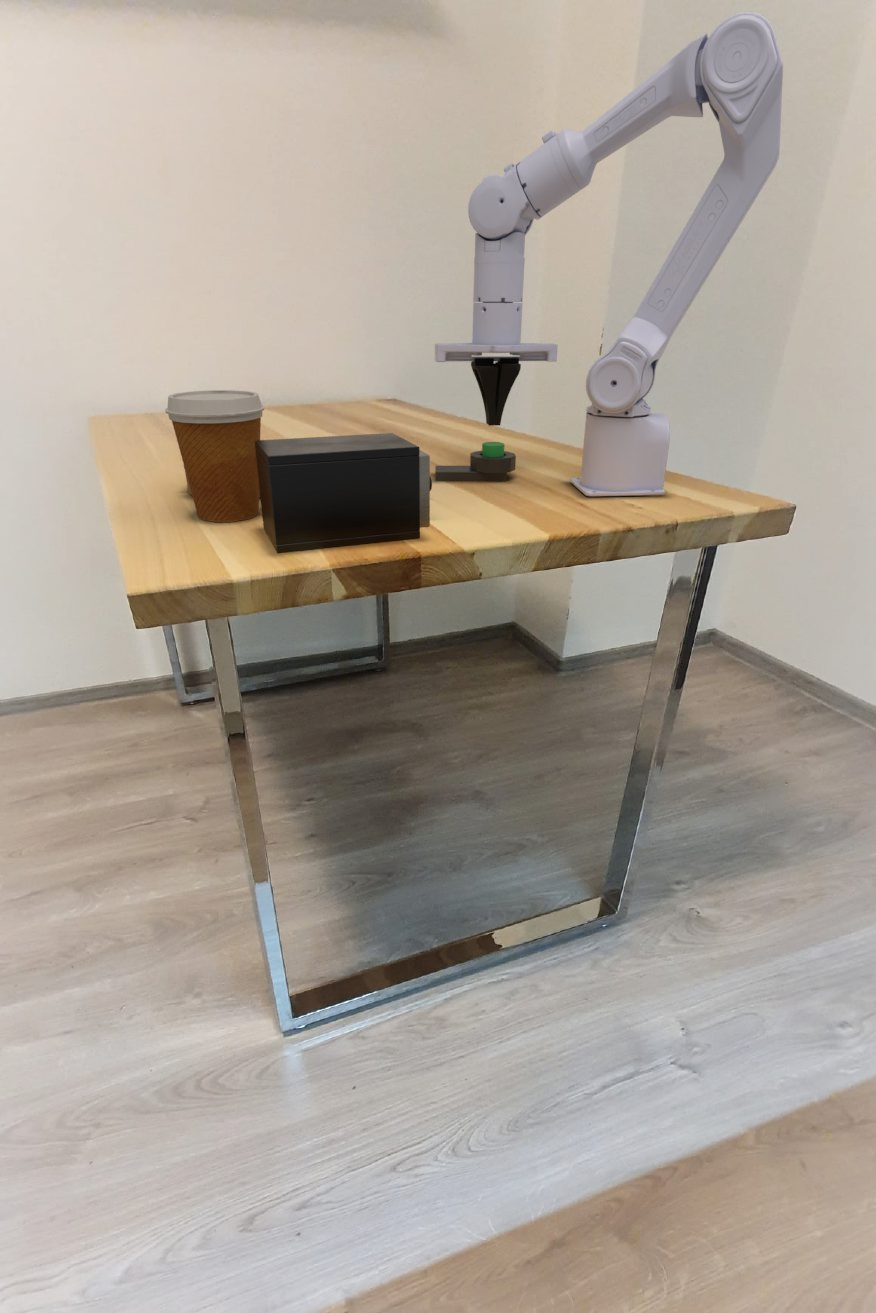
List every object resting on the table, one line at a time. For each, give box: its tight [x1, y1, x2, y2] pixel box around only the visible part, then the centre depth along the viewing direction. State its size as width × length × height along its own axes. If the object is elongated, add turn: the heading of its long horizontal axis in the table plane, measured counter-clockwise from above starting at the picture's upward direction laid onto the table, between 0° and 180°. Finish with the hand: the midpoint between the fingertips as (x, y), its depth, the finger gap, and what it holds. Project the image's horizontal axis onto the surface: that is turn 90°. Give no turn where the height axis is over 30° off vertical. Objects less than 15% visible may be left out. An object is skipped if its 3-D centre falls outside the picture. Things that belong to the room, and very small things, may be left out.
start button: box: [481, 441, 505, 457], centre depth 92 cm, size 3×3×2 cm
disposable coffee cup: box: [164, 389, 265, 523], centre depth 74 cm, size 10×10×12 cm
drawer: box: [419, 449, 433, 529], centre depth 70 cm, size 14×7×7 cm, turn 110°
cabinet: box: [255, 432, 421, 554], centre depth 69 cm, size 14×8×9 cm, turn 110°
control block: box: [434, 450, 517, 482], centre depth 93 cm, size 10×6×3 cm, turn 90°
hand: (493, 424), depth 90 cm, fingers closed
